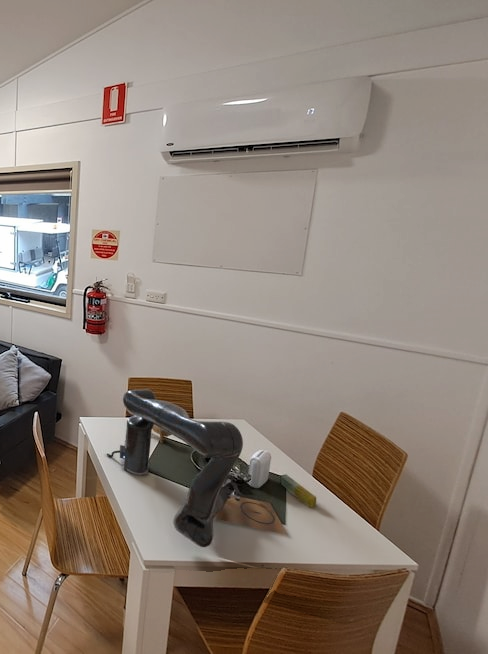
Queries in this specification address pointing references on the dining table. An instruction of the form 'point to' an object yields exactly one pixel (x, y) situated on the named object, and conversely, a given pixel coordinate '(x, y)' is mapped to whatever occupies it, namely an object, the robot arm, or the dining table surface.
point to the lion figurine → (161, 432)
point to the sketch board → (251, 514)
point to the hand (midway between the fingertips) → (225, 474)
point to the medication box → (298, 491)
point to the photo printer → (259, 468)
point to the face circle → (253, 519)
